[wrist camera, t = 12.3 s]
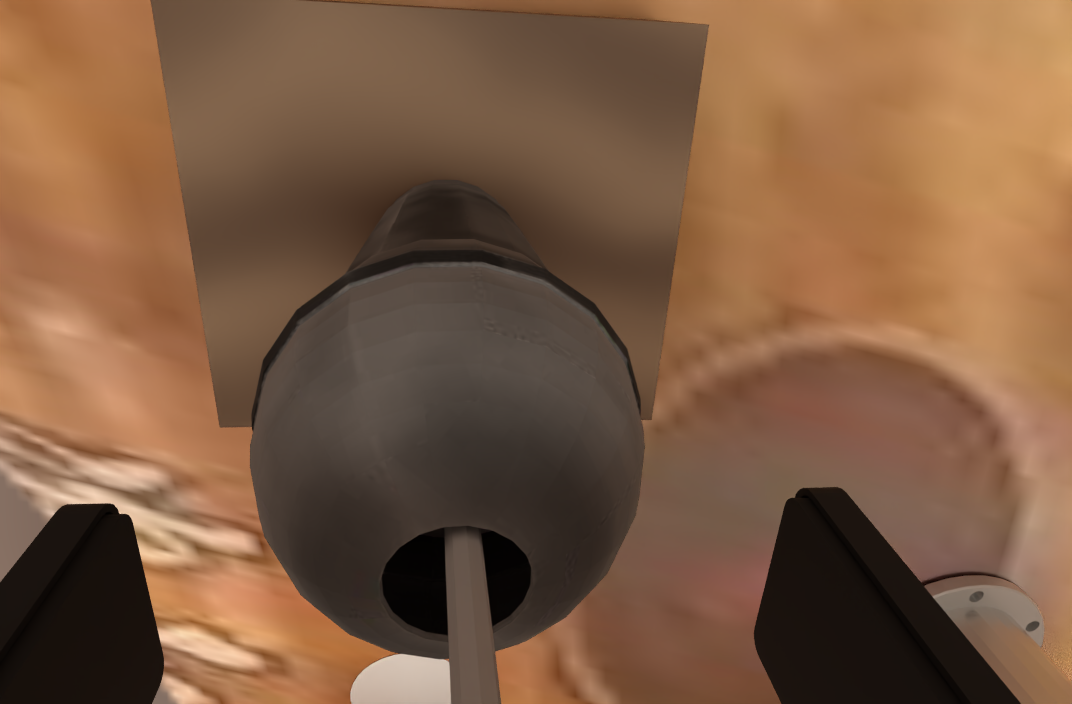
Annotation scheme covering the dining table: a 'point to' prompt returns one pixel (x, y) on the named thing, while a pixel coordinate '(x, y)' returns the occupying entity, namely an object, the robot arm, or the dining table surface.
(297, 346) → the beverage cup
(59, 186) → the dining table surface
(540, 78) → the walnut shelf
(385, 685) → the champagne flute
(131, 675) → the robot arm
